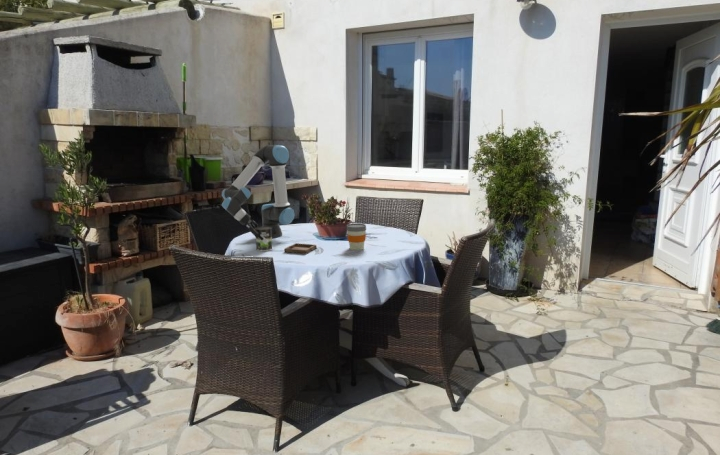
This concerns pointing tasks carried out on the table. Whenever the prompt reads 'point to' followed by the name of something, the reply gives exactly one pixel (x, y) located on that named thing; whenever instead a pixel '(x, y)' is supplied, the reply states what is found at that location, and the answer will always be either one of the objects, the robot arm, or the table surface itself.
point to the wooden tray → (300, 248)
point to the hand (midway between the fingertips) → (268, 240)
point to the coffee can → (267, 234)
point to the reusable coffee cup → (356, 236)
